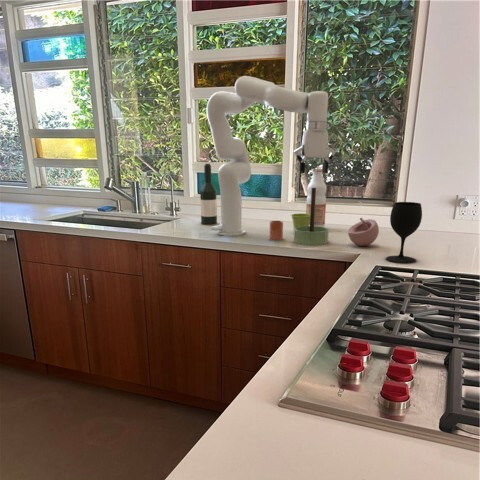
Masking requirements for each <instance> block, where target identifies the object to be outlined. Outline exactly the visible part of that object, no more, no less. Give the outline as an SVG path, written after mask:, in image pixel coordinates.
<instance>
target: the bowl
mask: <svg viewBox="0 0 480 480" xmlns="http://www.w3.org/2000/svg"><path fill="white" fill-rule="evenodd" d="M329 233H330V229H329V228H328V227H326V226H325V227H319V226H314V232H310V226H301V227H296V228H294V227H293V242H294V243H295V244H297V245H304V246H322V245H326V244H328V243H329Z"/></svg>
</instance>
